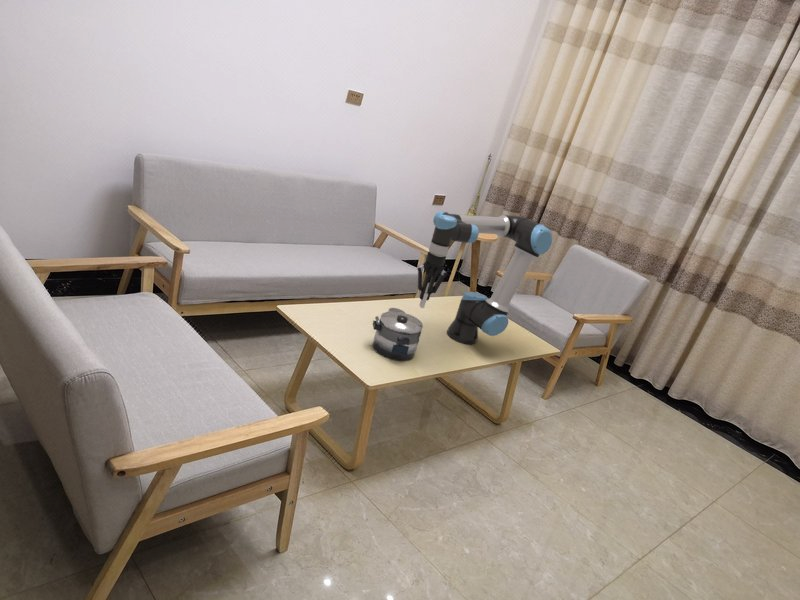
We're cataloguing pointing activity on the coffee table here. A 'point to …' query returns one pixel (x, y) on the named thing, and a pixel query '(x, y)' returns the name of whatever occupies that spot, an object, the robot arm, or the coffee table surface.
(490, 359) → the coffee table surface
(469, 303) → the robot arm
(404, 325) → the lid
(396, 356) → the cooker
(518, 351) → the coffee table surface
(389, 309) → the cup
